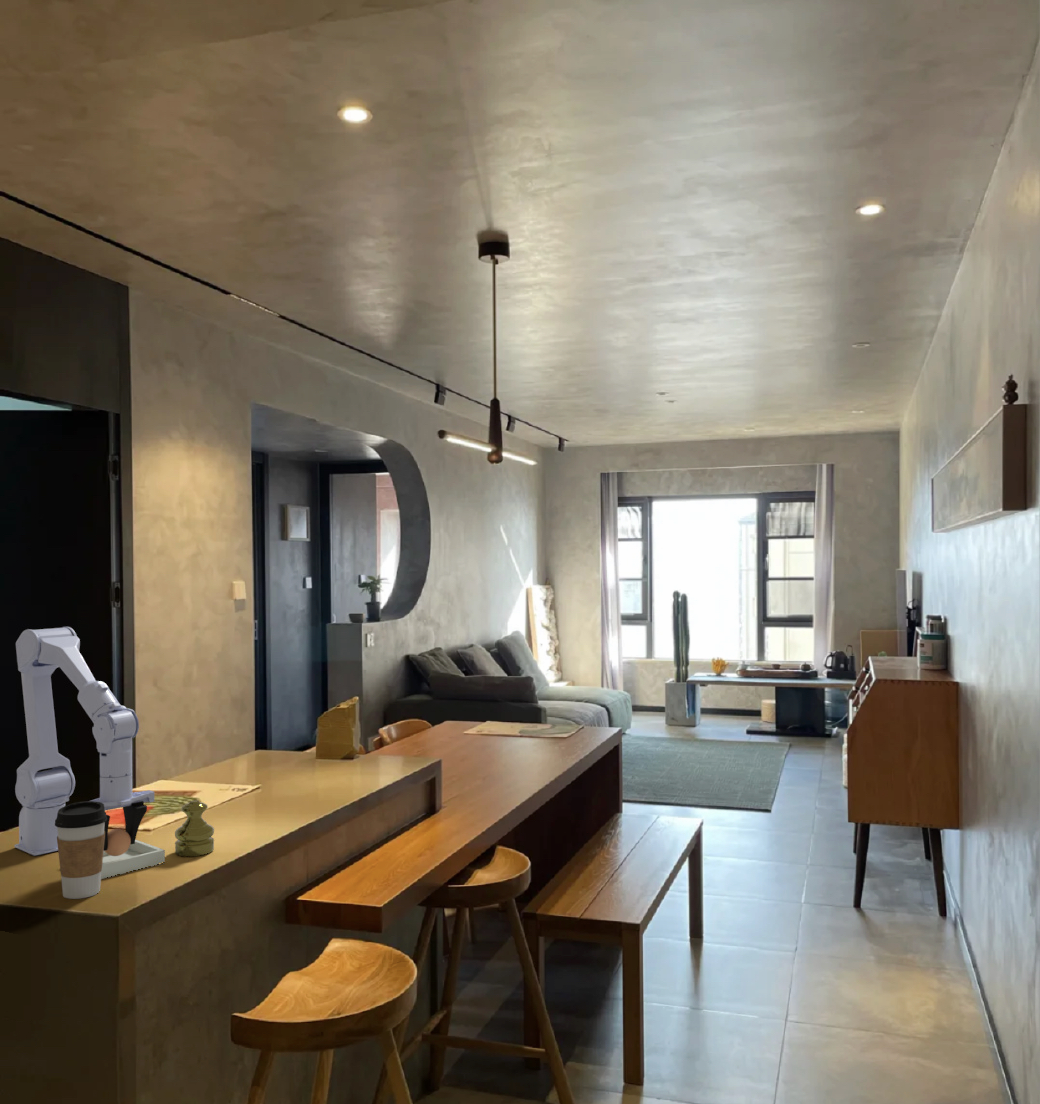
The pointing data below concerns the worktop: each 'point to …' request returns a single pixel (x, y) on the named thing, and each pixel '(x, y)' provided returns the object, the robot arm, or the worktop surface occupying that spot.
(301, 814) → the worktop surface
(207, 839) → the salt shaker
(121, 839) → the ball
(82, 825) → the coffee cup
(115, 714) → the robot arm
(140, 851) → the tray
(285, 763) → the worktop surface
